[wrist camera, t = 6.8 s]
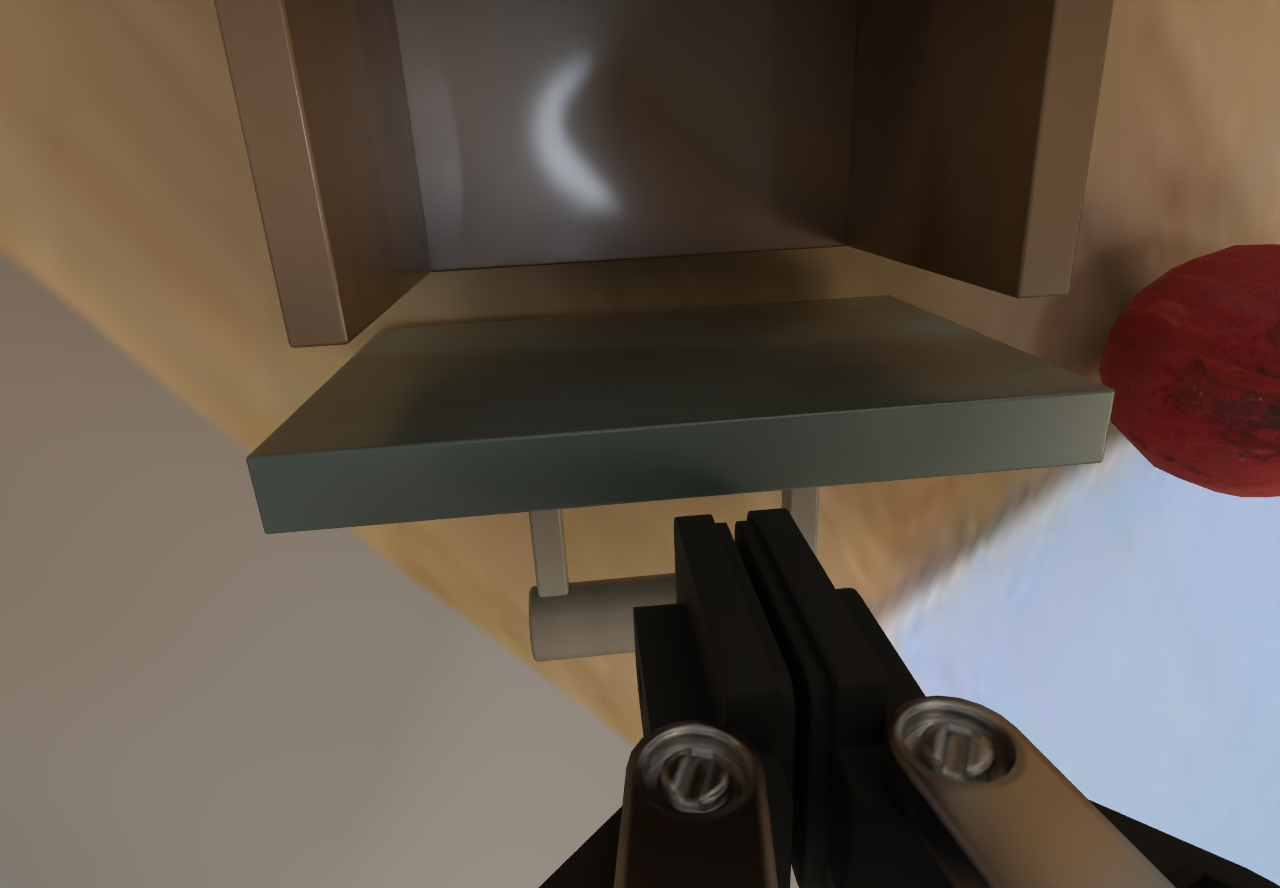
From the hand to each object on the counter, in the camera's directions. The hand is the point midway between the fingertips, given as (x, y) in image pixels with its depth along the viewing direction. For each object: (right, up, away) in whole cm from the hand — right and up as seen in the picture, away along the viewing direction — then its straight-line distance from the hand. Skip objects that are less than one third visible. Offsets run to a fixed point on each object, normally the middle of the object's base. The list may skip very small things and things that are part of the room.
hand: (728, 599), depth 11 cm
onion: (+13, +5, +10) cm, 17 cm away
